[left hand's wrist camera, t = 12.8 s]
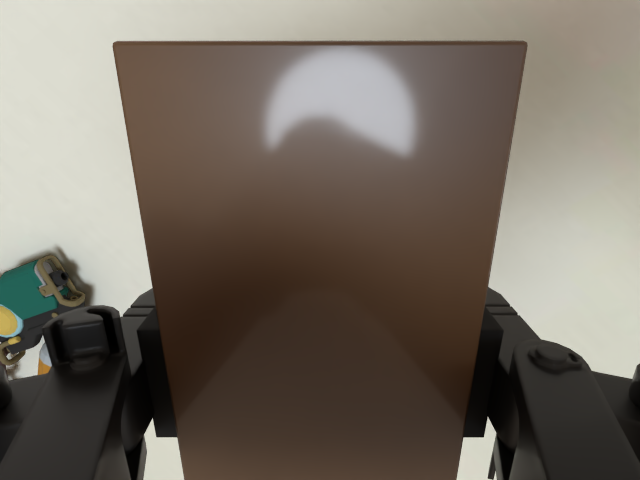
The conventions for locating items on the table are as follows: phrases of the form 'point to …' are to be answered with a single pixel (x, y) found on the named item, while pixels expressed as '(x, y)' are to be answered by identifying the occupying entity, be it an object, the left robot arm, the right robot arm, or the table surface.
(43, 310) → the spray gun
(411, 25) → the table surface
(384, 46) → the post
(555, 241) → the table surface
